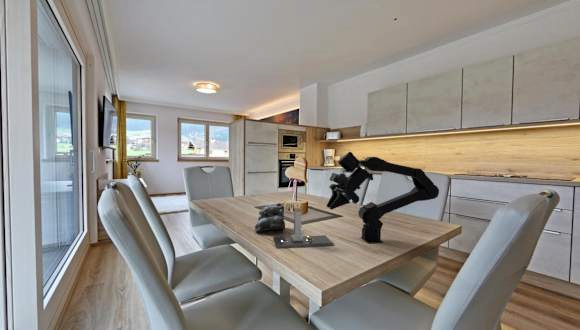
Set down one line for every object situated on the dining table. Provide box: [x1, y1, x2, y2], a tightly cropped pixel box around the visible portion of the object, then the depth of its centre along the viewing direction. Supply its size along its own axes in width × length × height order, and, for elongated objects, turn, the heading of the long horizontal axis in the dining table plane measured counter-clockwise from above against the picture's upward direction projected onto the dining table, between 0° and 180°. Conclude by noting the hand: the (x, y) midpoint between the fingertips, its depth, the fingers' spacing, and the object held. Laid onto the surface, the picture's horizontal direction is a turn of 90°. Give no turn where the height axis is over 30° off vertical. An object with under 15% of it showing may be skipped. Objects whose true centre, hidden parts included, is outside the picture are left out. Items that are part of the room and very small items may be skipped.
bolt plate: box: [272, 234, 334, 249], centre depth 93 cm, size 22×9×2 cm, turn 100°
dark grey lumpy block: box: [254, 203, 286, 233], centre depth 108 cm, size 15×12×14 cm
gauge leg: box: [290, 207, 304, 242], centre depth 92 cm, size 4×4×12 cm
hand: (328, 207), depth 94 cm, fingers open, 3 cm apart
